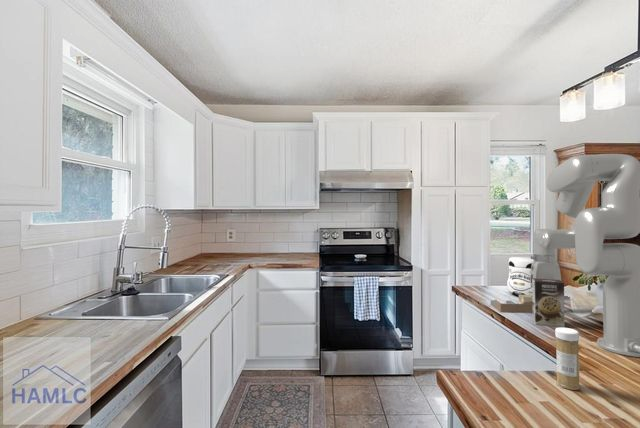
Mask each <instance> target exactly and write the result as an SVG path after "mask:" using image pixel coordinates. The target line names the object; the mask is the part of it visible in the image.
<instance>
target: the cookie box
mask: <svg viewBox="0 0 640 428" xmlns="http://www.w3.org/2000/svg"><path fill="white" fill-rule="evenodd" d="M531 314H532V315H531V316H532V317H531V318H532V321H533V323H534V324H535V325H539V326H548V327H556V328H559V327H564V328H565V282H563V281H562V280H561V281H560V280H553V279H537V278H532V313H531Z"/></svg>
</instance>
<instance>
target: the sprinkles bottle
mask: <svg viewBox="0 0 640 428" xmlns="http://www.w3.org/2000/svg"><path fill="white" fill-rule="evenodd" d="M554 333H555V335H554V336H555V338H556V343H555V344H556V378H557V380H556V384H557V385H558V386H559V387H562V388H564V389H566V390H569V391H570V390H571V391H578V390H580V389H581V385H580V356H579V355H580V354H579V353H580V352H579V340H580V333H579V331H578V330H576V329H574V328H568V327H565V326H564V327H556V328H555V332H554Z"/></svg>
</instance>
